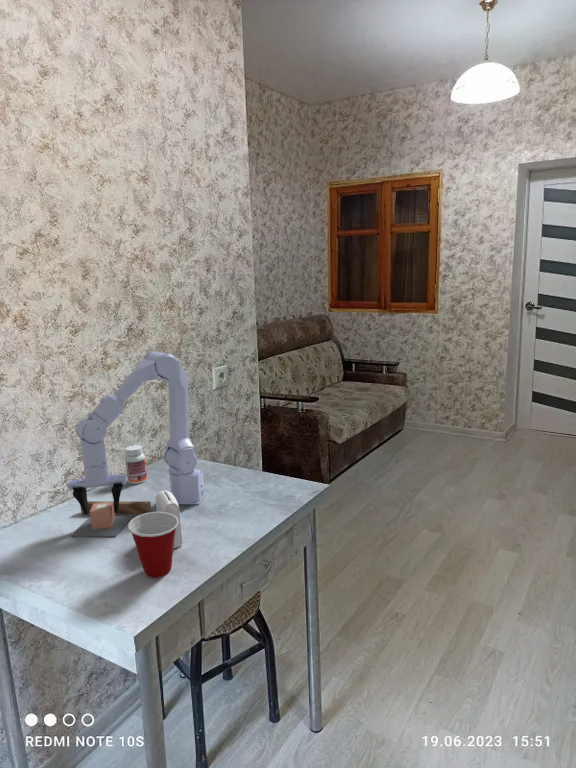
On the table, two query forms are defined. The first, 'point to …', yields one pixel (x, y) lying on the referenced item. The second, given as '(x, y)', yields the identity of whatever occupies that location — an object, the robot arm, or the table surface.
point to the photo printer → (170, 505)
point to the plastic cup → (154, 541)
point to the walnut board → (126, 507)
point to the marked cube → (102, 515)
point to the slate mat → (113, 531)
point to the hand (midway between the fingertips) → (101, 511)
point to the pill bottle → (135, 464)
